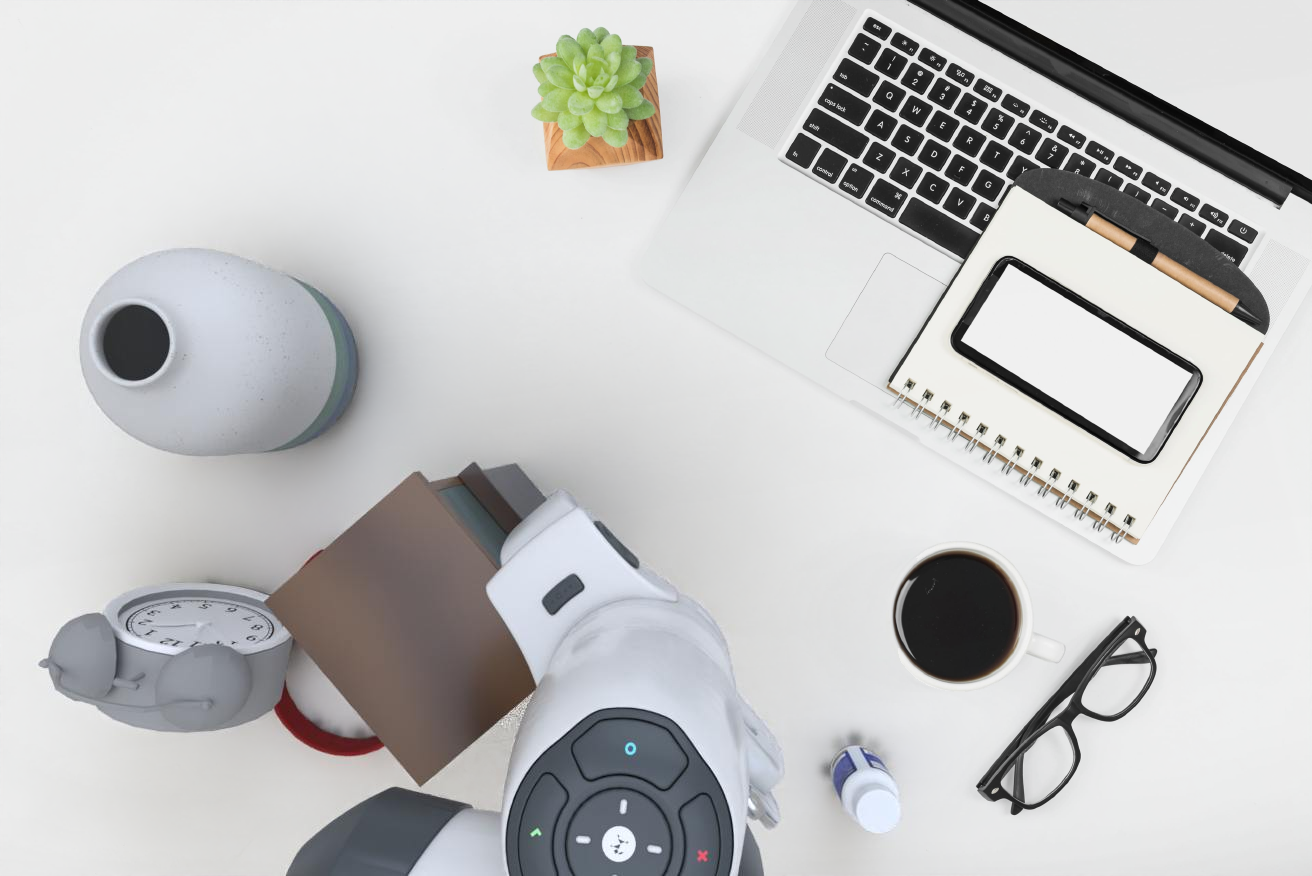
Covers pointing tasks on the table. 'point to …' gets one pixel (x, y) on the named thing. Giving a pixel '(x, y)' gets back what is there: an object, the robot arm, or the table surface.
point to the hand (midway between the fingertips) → (652, 615)
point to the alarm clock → (175, 657)
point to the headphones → (315, 735)
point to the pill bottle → (866, 789)
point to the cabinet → (418, 614)
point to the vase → (216, 355)
